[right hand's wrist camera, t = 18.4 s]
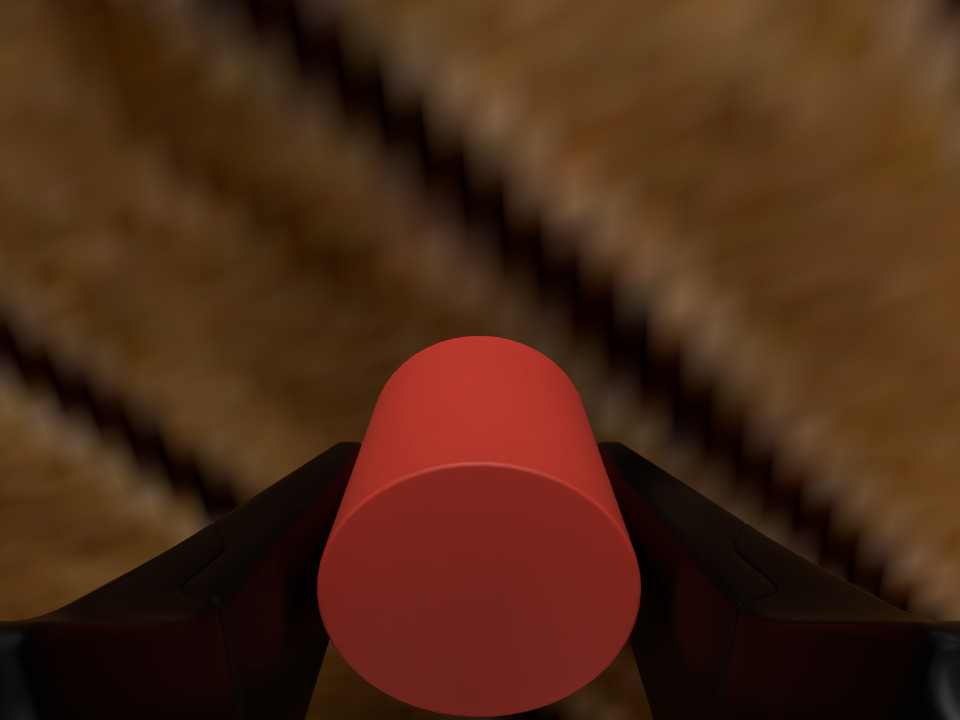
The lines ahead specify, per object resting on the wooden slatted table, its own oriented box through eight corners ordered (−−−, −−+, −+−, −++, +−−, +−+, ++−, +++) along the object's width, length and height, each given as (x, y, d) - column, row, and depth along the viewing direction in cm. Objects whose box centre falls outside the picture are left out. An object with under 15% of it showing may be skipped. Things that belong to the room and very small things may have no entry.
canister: (341, 479, 13) (272, 661, 8) (423, 298, 11) (389, 409, 7) (526, 551, 13) (547, 752, 9) (626, 389, 12) (705, 540, 8)
